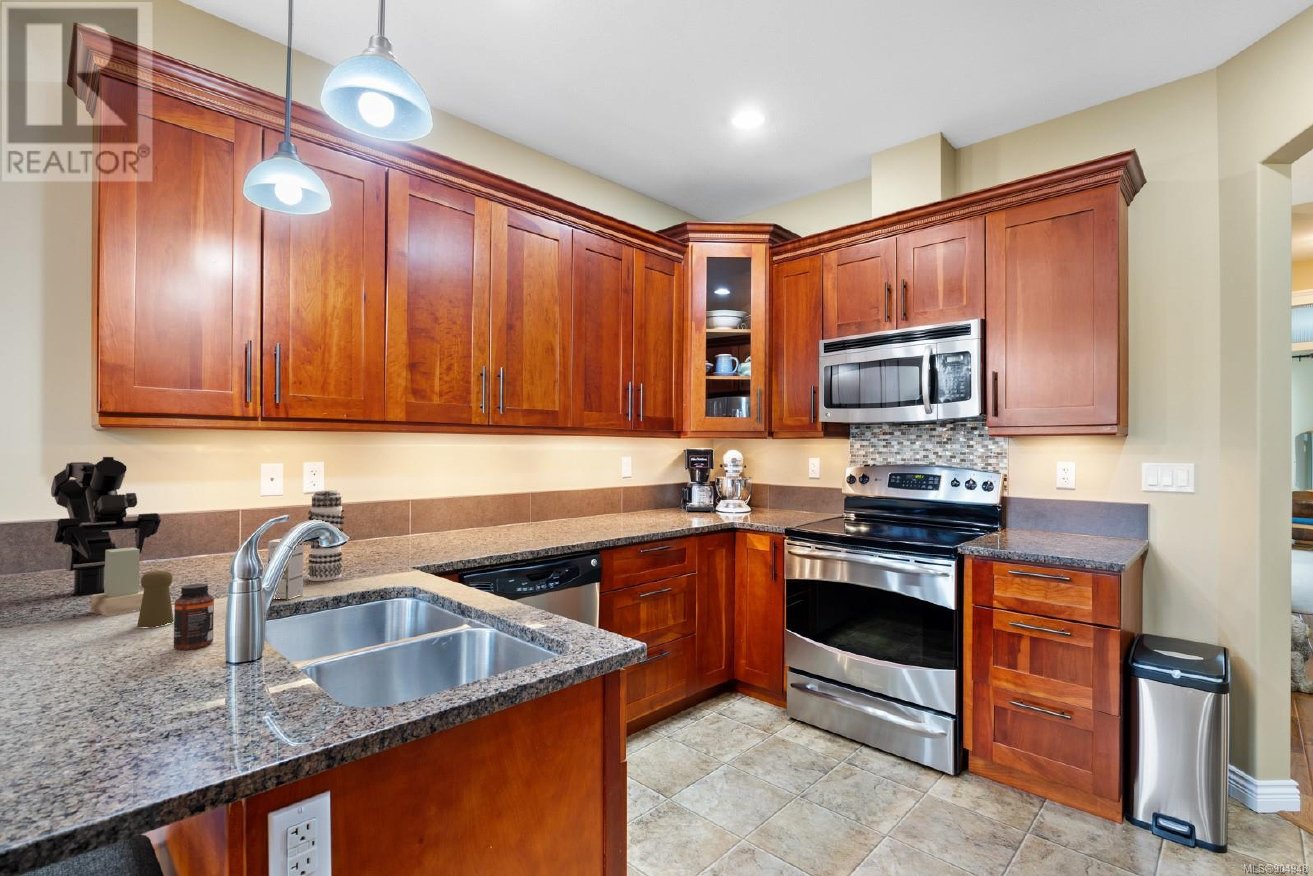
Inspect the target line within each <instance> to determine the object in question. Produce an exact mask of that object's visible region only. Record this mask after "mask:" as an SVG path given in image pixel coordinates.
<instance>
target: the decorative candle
mask: <svg viewBox="0 0 1313 876" xmlns="http://www.w3.org/2000/svg"><path fill="white" fill-rule="evenodd" d="M342 497H343V495H341V493H340V491H338V490H318V491H315V493H314V494H313V495H311V507H310V510H308V512H307V513H308V517H307V520H308V521H311V520H313V519H316V520H322V521H325V522H330V524H332V525H333V526H334V527H337V528H338V529H339V530H340V531H341V532H343V531H344V528H342V527H341V526H342V525H343V524H345V522H344V521H343V519H345V516H344V515H342V513H343V512H345V510H344V509H343V506H342ZM342 555H343V552H342V546H341V545H340V546H339V547H337V548H334V549H322V548H321V546H320V545H319V541H318V540H313V541H311V540H310V548H309V554H308V558H309V559H308V563H310V564H309V565H308V567H307V569H308V570H309V571H308V572H307V573H308V580H309V581H314V582H315V581H316V582H323V581H332V580H333V581H334V580H337V578H338V579H341V578H342V577H343V576H342V574H341V573H342V572H343V571H342V569H341V568H342V567H343V564H342V562H341V561H342V560H343V558H342V557H341V556H342Z"/></svg>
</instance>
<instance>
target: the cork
mask: <svg viewBox="0 0 1313 876" xmlns="http://www.w3.org/2000/svg"><path fill="white" fill-rule="evenodd" d="M173 579H174V578H173V574H172V573H171V572H170V571H167V570H156V571H151V572H147V573H144V574H143V575H142V577H141V579H140V585H141V588H143V589H144V590H143V591H144V593H143V598H142V604H141V609H140V610H139V614H138V620H137V626H136V627H156V626H161V625H165V624H167V623H172V622H173V621H174V612H173V606H172V598H171V591H170V586H171V584H172V583H173ZM172 624H173V623H172ZM156 628H157V627H156Z"/></svg>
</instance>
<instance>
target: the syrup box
mask: <svg viewBox="0 0 1313 876" xmlns="http://www.w3.org/2000/svg"><path fill="white" fill-rule="evenodd" d="M282 538H283V537H282ZM282 538H275V539H272V540H269V541H268V542H267V564H268V563H269V561H270V559H271V557H272V554H273V553H274V551H275V548H276V547H277V545H278V544H279V543H280V540H282ZM303 585H304V543H303V544H302V545H299V546H298V548H297V549H296V550H295V551H294V552H293V555H292V557H291V558H290V559H289V563H288V566H287V568H286V570H285V571H284V575H283V577H282V579H281V581H280V585H279V587H278V590H277V591H276V594H275V599H276V598H277V599H278V598H280V599H289V598H292V597H294V596H297V595H302V596H303V594H304V586H303ZM275 599H273V600H274V601H275Z"/></svg>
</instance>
